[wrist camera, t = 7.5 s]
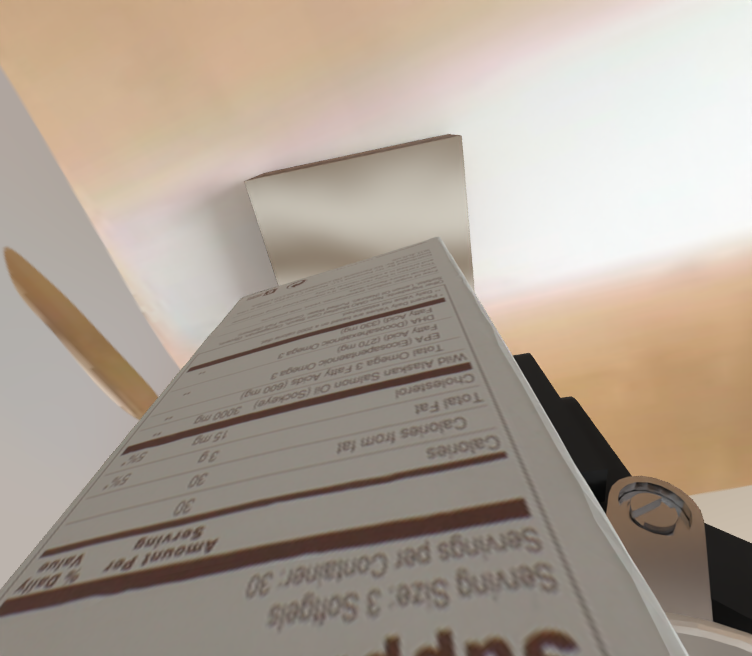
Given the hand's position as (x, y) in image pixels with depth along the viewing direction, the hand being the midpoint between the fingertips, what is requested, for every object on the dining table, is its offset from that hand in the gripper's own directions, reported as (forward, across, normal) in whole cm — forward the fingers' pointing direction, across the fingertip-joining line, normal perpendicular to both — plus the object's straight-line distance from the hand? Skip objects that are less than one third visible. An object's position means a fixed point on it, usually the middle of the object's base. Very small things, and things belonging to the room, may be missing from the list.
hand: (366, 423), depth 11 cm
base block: (+19, 0, 0) cm, 19 cm away
